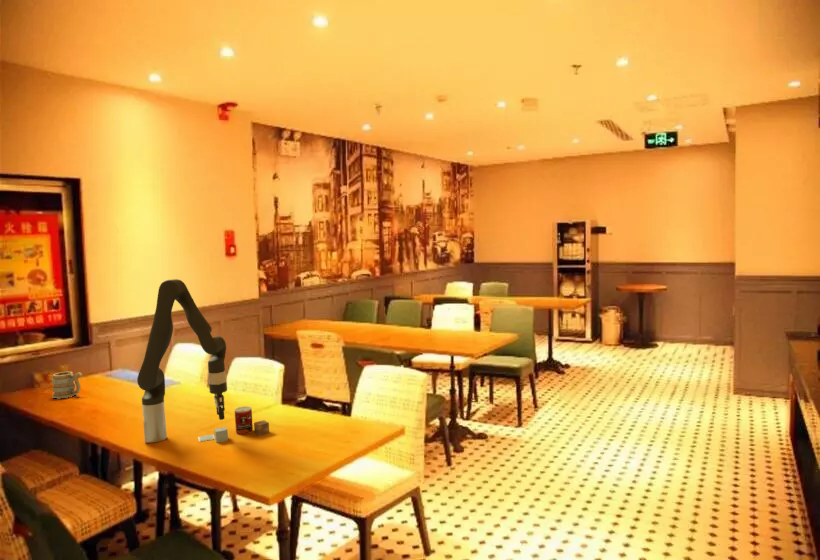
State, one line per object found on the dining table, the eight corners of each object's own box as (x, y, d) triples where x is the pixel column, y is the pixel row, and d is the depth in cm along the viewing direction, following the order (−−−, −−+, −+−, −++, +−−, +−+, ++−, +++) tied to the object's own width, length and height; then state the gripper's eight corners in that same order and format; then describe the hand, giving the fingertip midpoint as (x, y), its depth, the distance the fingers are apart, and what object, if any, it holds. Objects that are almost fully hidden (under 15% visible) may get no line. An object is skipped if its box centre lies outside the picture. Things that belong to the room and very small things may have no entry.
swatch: (199, 441, 263) (199, 441, 263) (197, 437, 270) (197, 436, 270) (215, 439, 266) (214, 438, 266) (213, 434, 272) (213, 433, 272)
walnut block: (259, 435, 269) (258, 425, 268) (254, 433, 273) (254, 422, 272) (269, 433, 272) (268, 422, 271) (264, 430, 276) (264, 420, 275)
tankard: (47, 398, 349) (45, 374, 348) (65, 393, 361) (63, 369, 360) (74, 400, 343) (71, 375, 342) (91, 394, 356) (89, 370, 354)
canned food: (235, 435, 270) (234, 412, 269) (236, 430, 278) (234, 407, 277) (253, 433, 272) (251, 410, 271) (252, 428, 280) (251, 405, 279)
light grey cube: (216, 442, 262) (215, 432, 261) (215, 439, 266) (214, 428, 266) (228, 440, 264) (227, 430, 263) (226, 437, 268) (225, 426, 268)
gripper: (207, 379, 268) (210, 414, 269) (210, 386, 255) (213, 422, 256) (224, 377, 271) (227, 411, 272) (228, 383, 258) (231, 419, 259)
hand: (220, 416), depth 264 cm, fingers open, 8 cm apart
